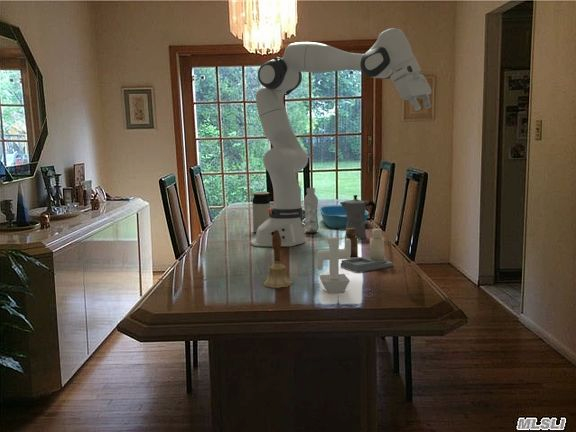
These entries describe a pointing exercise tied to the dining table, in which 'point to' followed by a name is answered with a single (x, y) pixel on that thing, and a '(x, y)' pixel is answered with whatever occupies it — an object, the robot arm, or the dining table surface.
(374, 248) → the cruet stand
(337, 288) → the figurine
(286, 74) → the robot arm
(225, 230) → the dining table surface
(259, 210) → the travel mug
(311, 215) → the plastic bottle
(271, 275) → the hand bell
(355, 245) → the pepper mill
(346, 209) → the coffeepot
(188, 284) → the dining table surface
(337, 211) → the casserole dish
